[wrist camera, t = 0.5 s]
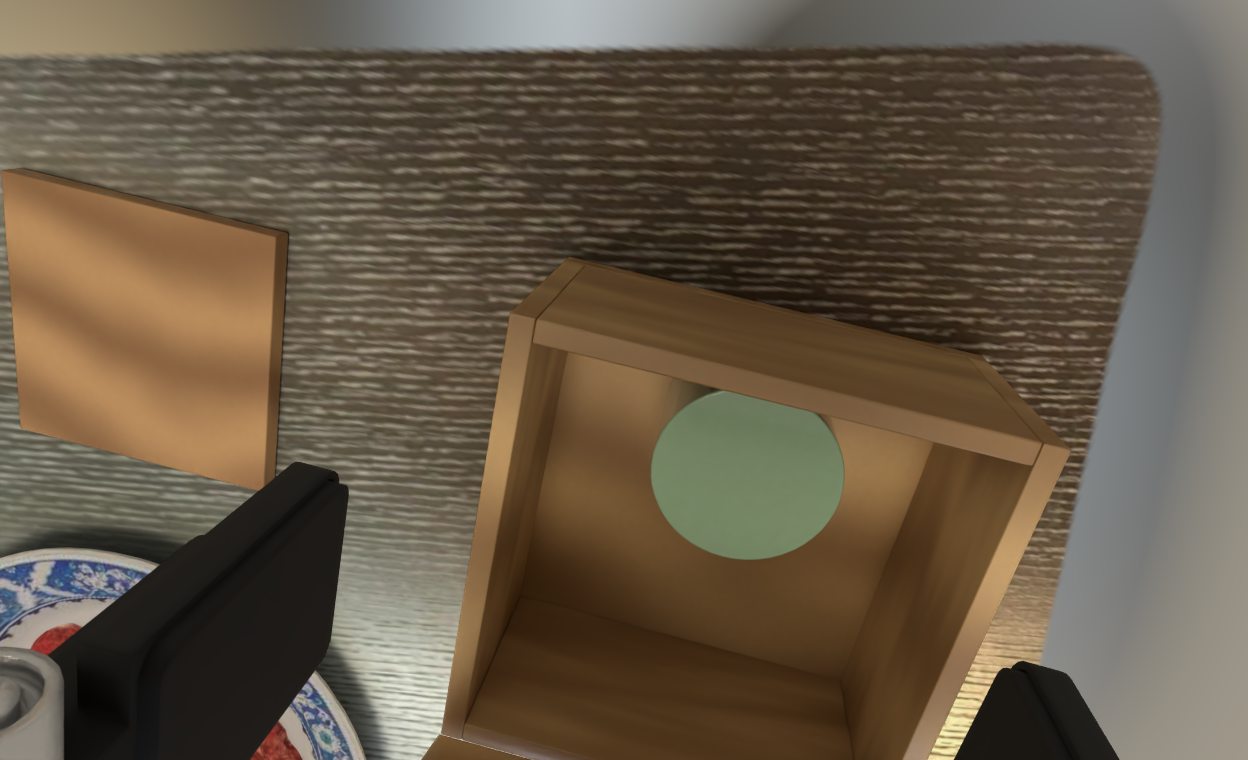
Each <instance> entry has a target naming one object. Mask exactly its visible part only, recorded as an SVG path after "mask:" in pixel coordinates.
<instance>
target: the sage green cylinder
mask: <svg viewBox="0 0 1248 760" xmlns="http://www.w3.org/2000/svg"><path fill="white" fill-rule="evenodd" d="M844 480H845V468H844V461H843V455H842V452H841V448H840V445H839V442H838V438H837V435H836V431H835V428H834V425H833V421H832V418H831V417H830V416H826V415H822V414H818V413H814V412H809V411H805V410H801V409H797V408H793V407H789V406H785V405H781V404H777V403H773V402H769V401H765V400H761V399H757V398H753V397H749V396H745V395H741V394H736V393H732V392H728V391H724V390H720V389H716V388H712V387H708V386H704V385H700V384H696V383H692V382H688V381H684V380H680V379H676V378H672V380H671V382H670V385H669V388H668V391H667V395H666V399H665V403H664V408H663V412H662V416H661V420H660V424H659V429H658V433H657V437H656V441H655V446H654V450H653V454H652V460H651V484H652V489H653V493H654V496H655V499H656V501H657V504H658V506H659V508H660V510H661V512H662V513H663V515H664V517H665V518H666V519H667V521H668V522H669V523H670V524H671V526H672V527H673V528H674V529H675V530H676V531H677V532H678V533H679V534H680V535H681V536H683V537H684V538H685V539H686V540H688V541H689V542H691V543H692V544H694V545H696V546H697V547H699V548H701V549H703V550H705V551H708V552H710V553H713V554H716V555H719V556H722V557H727V558H732V559H741V560H759V559H766V558H772V557H776V556H779V555H783V554H785V553H788V552H790V551H793V550H795V549H797V548H799V547H800V546H802V545H804V544H805V543H807V542H808V541H810V540H811V539H813V538H814V537H815V536H816V535H817V534H818V533H819V532H820V531H821V530H822V529H823V528H824V527H825V526H826V524H827V523H828V522H829V521H830V519H831V518H832V516H833V514H834V513H835V511H836V509H837V507H838V504H839V502H840V500H841V496H842V492H843V488H844Z"/></svg>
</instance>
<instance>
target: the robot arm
mask: <svg viewBox="0 0 1248 760" xmlns="http://www.w3.org/2000/svg"><path fill="white" fill-rule="evenodd" d="M348 496H349V490H348V487H347V486H346V485H343V484H339V477H338V474H337V473H336V472H335V471H331V470H328V469H324V468H320V467H317V466H313V465H309V464H306V463H302V462H295V463H293V464H291V465H290V466H289V467H287V468H286V469H285V470H284V471H283V472H281V473H280V474H279V475H278V476H276V477H275V478H274V479H273V480H272V481H270V482H269V483H268V484H267V485H265V486H264V487H263V488H262V489H261V490H259V491H258V492H257V493H256V494H254V495H253V496H252V497H251V498H250V499H248V500H247V501H246V502H245V503H243V504H242V505H241V506H240V507H238V508H237V509H236V510H235V511H234V512H232V513H231V514H230V515H229V516H227V517H226V518H225V519H224V520H223V521H221V522H220V523H219V524H218V525H216V526H215V527H214V528H213V529H212V530H210V531H209V532H208V533H207V534H205V535H200V536H197V537H195V538H194V539H192V540H190V541H189V542H188V543H186V544H185V545H184V546H183V547H181V548H180V549H179V550H178V551H176V552H175V553H174V554H173V555H171V556H170V557H169V558H168V559H166V560H165V561H164V562H163V563H161V564H160V565H159V566H158V567H156V568H155V569H154V570H153V571H151V572H150V573H149V574H148V575H147V576H145V577H144V578H143V579H142V580H140V581H139V582H138V583H137V584H135V585H134V586H133V587H132V588H130V589H129V590H128V591H127V592H125V593H124V594H123V595H122V596H120V597H119V598H118V599H117V600H115V601H114V602H113V603H112V604H110V605H109V606H108V607H107V608H106V609H104V610H103V611H102V612H101V613H99V614H98V615H97V616H96V617H94V618H93V619H92V620H91V621H89V622H88V623H87V624H86V625H84V626H83V627H82V628H81V629H79V630H78V631H77V632H76V633H74V634H73V635H72V636H71V637H69V638H68V639H67V640H66V641H64V642H63V643H62V644H61V645H60V646H58V647H57V648H56V649H55V650H53V651H52V652H51V653H50V654H48V655H44V654H42V653H39V652H36V651H34V650H31V649H26V648H16V647H7V646H6V647H0V760H250V759H251V758H252V756H253V755H254V753H255V752H256V751H257V749H258V748H259V747H260V745H261V744H262V743H263V741H264V740H265V738H266V737H267V736H268V734H269V733H270V732H271V730H272V729H273V728H274V726H275V725H276V723H277V722H278V721H279V719H280V718H281V717H282V715H283V714H284V713H285V711H286V710H287V708H288V707H289V706H290V704H291V703H292V702H293V700H294V699H295V698H296V696H297V695H298V693H299V692H300V691H301V689H302V688H303V687H304V685H305V684H306V683H307V681H308V680H309V678H310V677H311V676H312V674H313V673H314V672H315V670H316V669H317V668H318V666H319V665H320V663H321V662H322V660H323V658H324V656H325V654H326V652H327V649H328V646H329V643H330V639H331V633H332V625H333V617H334V609H335V601H336V593H337V585H338V577H339V569H340V561H341V553H342V545H343V536H344V528H345V520H346V512H347V504H348ZM954 760H1119V758H1118V756H1117V755H1116V753H1115V751H1114V750H1113V748H1112V746H1111V745H1110V743H1109V741H1108V740H1107V738H1106V736H1105V735H1104V733H1103V731H1102V729H1101V728H1100V727H1099V725H1098V723H1097V721H1096V719H1095V718H1094V716H1093V715H1092V713H1091V711H1090V710H1089V708H1088V706H1087V704H1086V703H1085V701H1084V699H1083V698H1082V696H1081V694H1080V693H1079V691H1078V689H1077V688H1076V686H1075V684H1074V683H1073V681H1072V680H1071V678H1070V677H1069V676H1068V675H1067V674H1066V673H1064V672H1061V671H1058V670H1054V669H1050V668H1047V667H1043V666H1039V665H1036V664H1032V663H1029V662H1025V661H1020V662H1017V663H1016V664H1015V665H1013V667H1012V668H1011V669H1010V668H1003V669H1001V670H1000V671H999V672H998V674H997V675H996V677H995V679H994V681H993V683H992V685H991V687H990V689H989V691H988V693H987V695H986V697H985V699H984V701H983V703H982V705H981V707H980V709H979V711H978V713H977V715H976V717H975V719H974V721H973V723H972V725H971V727H970V729H969V731H968V733H967V735H966V737H965V739H964V741H963V743H962V745H961V747H960V749H959V751H958V753H957V755H956V757H955V759H954Z"/></svg>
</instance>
